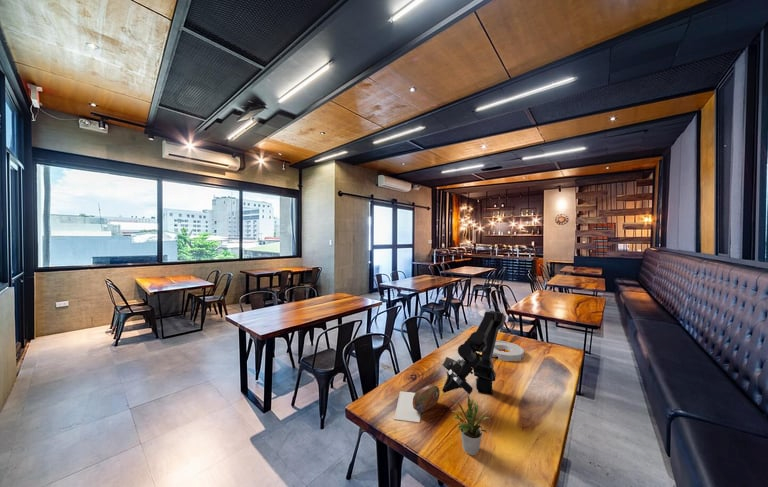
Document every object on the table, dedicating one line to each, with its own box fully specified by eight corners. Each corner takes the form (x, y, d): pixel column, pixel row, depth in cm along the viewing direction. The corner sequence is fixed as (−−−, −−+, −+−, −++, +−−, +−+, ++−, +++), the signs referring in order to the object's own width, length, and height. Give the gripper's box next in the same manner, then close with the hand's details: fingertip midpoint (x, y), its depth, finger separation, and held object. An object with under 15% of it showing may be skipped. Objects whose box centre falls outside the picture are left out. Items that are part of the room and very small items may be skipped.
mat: (421, 394, 128) (421, 393, 128) (419, 422, 108) (419, 422, 108) (400, 391, 130) (400, 391, 130) (394, 419, 110) (394, 419, 110)
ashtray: (531, 362, 162) (531, 355, 162) (491, 361, 162) (491, 355, 162) (513, 346, 185) (513, 340, 185) (478, 346, 186) (478, 340, 186)
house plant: (444, 431, 104) (444, 387, 103) (481, 432, 103) (482, 388, 103) (452, 462, 90) (453, 412, 89) (495, 463, 89) (497, 413, 89)
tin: (416, 416, 112) (417, 395, 111) (410, 412, 114) (411, 392, 114) (439, 402, 122) (440, 383, 121) (433, 399, 124) (435, 380, 124)
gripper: (446, 343, 128) (423, 369, 126) (465, 361, 110) (438, 391, 108) (462, 359, 130) (439, 384, 128) (483, 379, 111) (457, 409, 110)
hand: (443, 391), depth 118 cm, fingers closed
